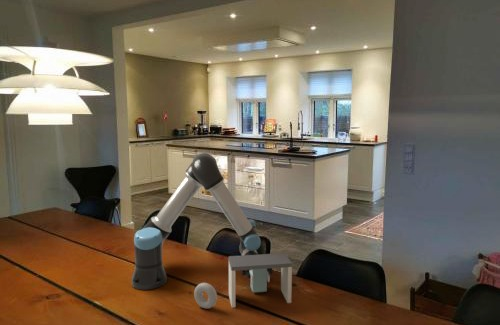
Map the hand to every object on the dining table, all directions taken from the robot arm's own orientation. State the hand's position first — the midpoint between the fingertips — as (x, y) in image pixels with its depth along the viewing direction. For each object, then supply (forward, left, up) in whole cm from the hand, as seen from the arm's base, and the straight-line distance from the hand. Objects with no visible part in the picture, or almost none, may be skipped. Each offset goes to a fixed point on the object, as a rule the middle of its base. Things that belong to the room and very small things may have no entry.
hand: (260, 279), depth 148 cm
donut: (-23, -5, -8) cm, 25 cm away
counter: (-1, -1, -7) cm, 8 cm away
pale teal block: (0, +5, -7) cm, 8 cm away
